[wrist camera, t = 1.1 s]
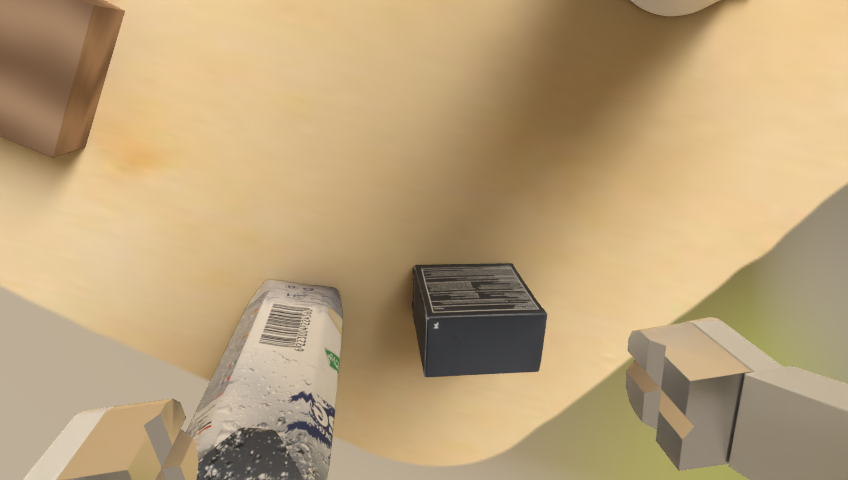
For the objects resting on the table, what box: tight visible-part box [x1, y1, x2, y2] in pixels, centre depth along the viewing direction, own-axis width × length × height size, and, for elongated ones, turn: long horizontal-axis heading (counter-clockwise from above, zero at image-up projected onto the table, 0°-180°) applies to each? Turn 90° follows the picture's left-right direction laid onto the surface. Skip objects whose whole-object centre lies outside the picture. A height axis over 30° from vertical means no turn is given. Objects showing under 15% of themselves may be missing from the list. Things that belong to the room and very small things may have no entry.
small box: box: [412, 264, 547, 377], centre depth 46 cm, size 11×6×10 cm, turn 88°
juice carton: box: [186, 280, 343, 480], centre depth 37 cm, size 9×10×27 cm
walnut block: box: [0, 0, 125, 157], centre depth 37 cm, size 12×12×5 cm
